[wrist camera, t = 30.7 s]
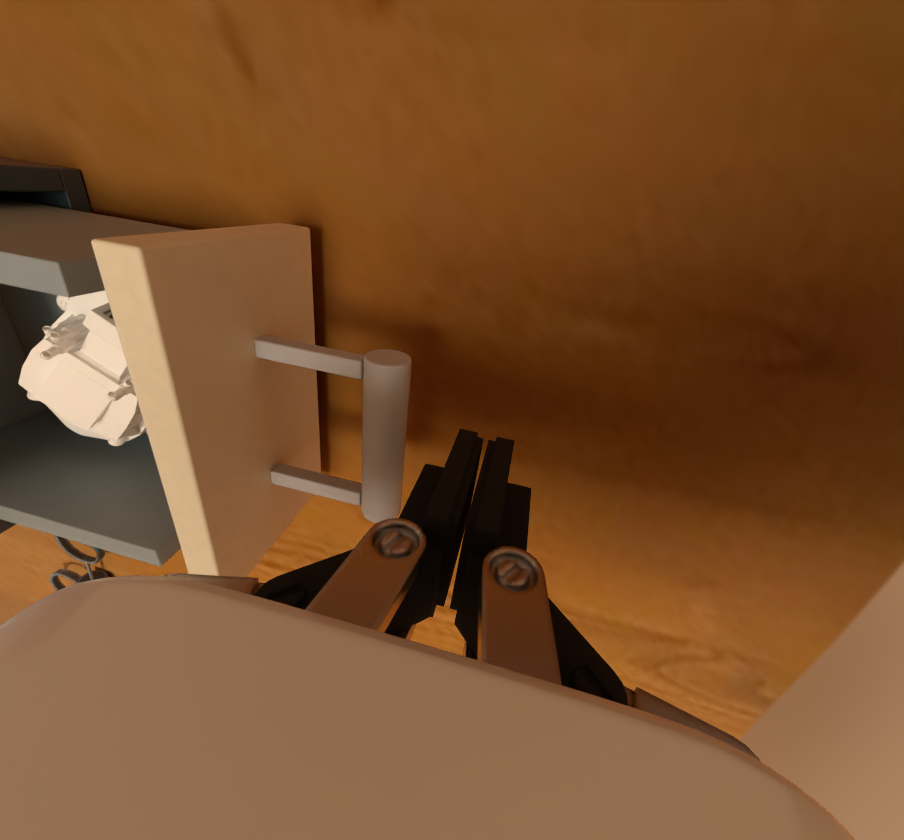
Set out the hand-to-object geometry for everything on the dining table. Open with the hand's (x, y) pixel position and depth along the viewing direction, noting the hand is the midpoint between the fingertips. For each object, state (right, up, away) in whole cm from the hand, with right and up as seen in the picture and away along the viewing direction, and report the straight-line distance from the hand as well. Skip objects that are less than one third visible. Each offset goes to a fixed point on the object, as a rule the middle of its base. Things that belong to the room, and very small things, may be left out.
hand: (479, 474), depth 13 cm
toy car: (-13, +4, +4) cm, 14 cm away
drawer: (-11, +4, +5) cm, 13 cm away
